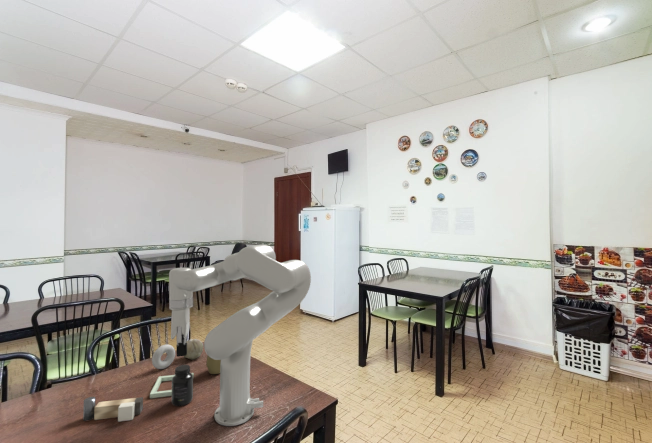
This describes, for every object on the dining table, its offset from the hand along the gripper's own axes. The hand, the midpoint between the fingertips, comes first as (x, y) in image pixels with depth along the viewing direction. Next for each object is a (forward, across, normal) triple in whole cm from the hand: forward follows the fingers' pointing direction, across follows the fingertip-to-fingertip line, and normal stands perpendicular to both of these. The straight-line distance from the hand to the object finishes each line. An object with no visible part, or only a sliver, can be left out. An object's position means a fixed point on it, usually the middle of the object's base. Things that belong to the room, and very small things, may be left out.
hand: (181, 355), depth 109 cm
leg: (+16, +2, -19) cm, 25 cm away
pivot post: (+16, +2, -27) cm, 32 cm away
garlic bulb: (+16, -37, -1) cm, 40 cm away
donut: (+16, -29, -12) cm, 35 cm away
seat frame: (+16, -12, -5) cm, 20 cm away
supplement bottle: (+17, -1, 0) cm, 17 cm away
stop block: (+16, +5, -16) cm, 23 cm away
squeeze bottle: (+17, -20, +10) cm, 28 cm away
